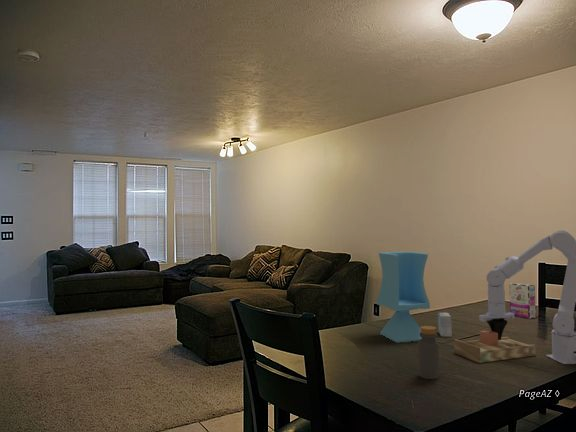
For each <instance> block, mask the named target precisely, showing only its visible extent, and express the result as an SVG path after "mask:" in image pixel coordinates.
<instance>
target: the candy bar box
mask: <svg viewBox="0 0 576 432" xmlns="http://www.w3.org/2000/svg"><path fill="white" fill-rule="evenodd" d="M508 284H509V312H511V313H514V317H518V318H523V319H528V320H531V319H536V318H537V316H536V315H537V312H536V311H537V309H536V285H535V284H530V283H521V282H520V283H519V282H510V283H508Z"/></svg>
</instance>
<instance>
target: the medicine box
mask: <svg viewBox="0 0 576 432" xmlns="http://www.w3.org/2000/svg"><path fill="white" fill-rule="evenodd" d="M437 323H438V324H437V326H438V327H437V329H438V334H439V336H440V337H442V338H443V337H444V338H445V337H446V338H451V337H453V336H452V334H453V333H452V316H451V315H450V313H449V312H438V313H437Z"/></svg>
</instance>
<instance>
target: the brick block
mask: <svg viewBox="0 0 576 432" xmlns="http://www.w3.org/2000/svg"><path fill="white" fill-rule="evenodd" d="M479 338H480V339H479V340H480V343H483V344H486V345H497V344H498V333H497V332H493V331H492V330H491V329H490V330H489V329H487V330H480V331H479Z"/></svg>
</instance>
